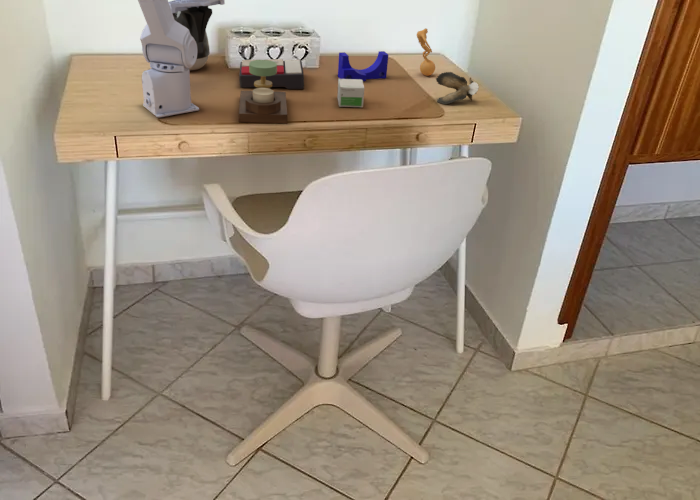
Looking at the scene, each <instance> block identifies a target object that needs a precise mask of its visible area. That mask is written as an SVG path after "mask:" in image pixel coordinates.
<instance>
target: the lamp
mask: <svg viewBox="0 0 700 500" xmlns="http://www.w3.org/2000/svg"><path fill="white" fill-rule="evenodd" d="M253 60H254V61H251V62H250V63H249V72H250V73H251V74H253V75H256V76H261V80H257V81H255V82H254V86H255V87H254V88H269V89H271V88H273V87H272V82H271V81H268V80H266V76H272V75H275V74H276V73H277V63H275V62H273V61H270V60H267V59H253Z"/></svg>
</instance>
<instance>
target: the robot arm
mask: <svg viewBox="0 0 700 500" xmlns="http://www.w3.org/2000/svg"><path fill="white" fill-rule="evenodd" d="M137 1H138V4H139V7H140V10H141V12H142V14H143V17H144V20H145V22H146V24H145V25H144V27H143V29H142V31H141V34H140V38H139V40H140V43H141V51H142V55H143V58H144V59H145V61H146V63H148V64H149V69H146V70H143V71H142V73H141V86H142V88H141V89H142V97H143V103H142V106H143V107H144V108H145V109H146V110H148V112H150V113H151V114H153V115H154V116H155V117H156V118H164V117H169V116H174V115H175V116H176V115H182V114H187V113H191V112H197V111H200V107H198V106H197V105H196V104H194V103H193V102H192V91H191V89H192V88H191V73H190V71H189V68H191V67H192V66H193V65H194V64H195V62H196V59H197V44H196V42H198V43H200V42H203V40H204V35H205V30H206V31H207V26H208V24H209V21H210V19H211V17H212V15H213V9H212V8H210V7H212V6H218V5H220V6H223V5H225V4H226V3H225V0H171V1H169V0H137ZM178 11H181V13H182V15H183V17H184V18H185V20H186V22H187V24H188V26H189V29H190V32H191V34H190V32H189V29H187V28H186V27H184V26H183V25H181V24H180V23H178V22H176V21H175V20H174V17H173V14H172V13H175V12H178ZM191 35H192V36H191Z"/></svg>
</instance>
